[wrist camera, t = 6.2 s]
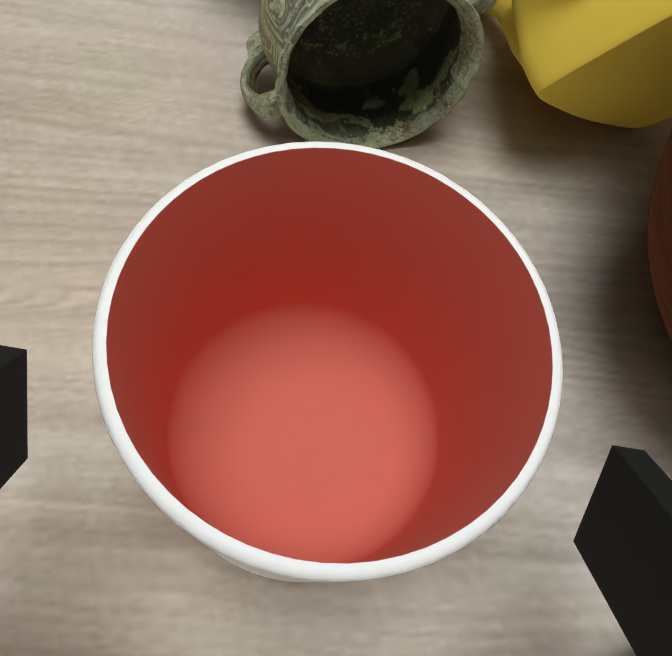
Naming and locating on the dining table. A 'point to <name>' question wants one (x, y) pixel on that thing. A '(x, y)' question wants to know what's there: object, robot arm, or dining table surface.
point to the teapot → (595, 56)
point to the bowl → (662, 236)
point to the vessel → (364, 65)
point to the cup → (327, 362)
